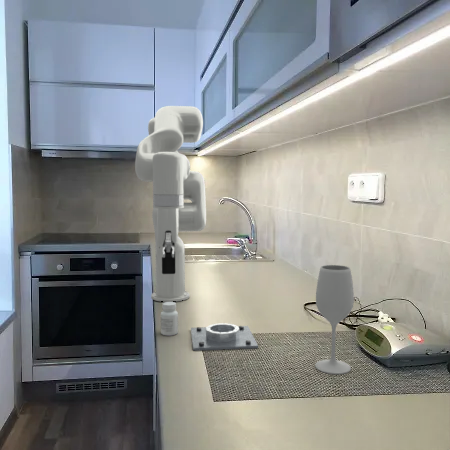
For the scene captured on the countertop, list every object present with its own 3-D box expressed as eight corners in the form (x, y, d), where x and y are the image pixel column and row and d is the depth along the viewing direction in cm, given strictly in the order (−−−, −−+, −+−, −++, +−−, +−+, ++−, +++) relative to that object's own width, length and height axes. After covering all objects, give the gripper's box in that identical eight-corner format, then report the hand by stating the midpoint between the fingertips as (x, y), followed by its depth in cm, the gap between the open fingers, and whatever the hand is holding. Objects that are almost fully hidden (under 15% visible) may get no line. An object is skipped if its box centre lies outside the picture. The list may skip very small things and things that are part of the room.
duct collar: (205, 331, 117) (205, 323, 117) (236, 330, 118) (236, 322, 118) (207, 342, 109) (207, 334, 109) (241, 341, 110) (241, 332, 110)
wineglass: (345, 360, 100) (348, 264, 98) (356, 374, 93) (359, 271, 91) (310, 360, 100) (312, 264, 98) (319, 374, 92) (321, 271, 91)
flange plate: (190, 329, 121) (190, 325, 120) (247, 328, 122) (247, 324, 122) (193, 350, 106) (193, 346, 106) (258, 348, 107) (258, 343, 107)
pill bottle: (169, 329, 121) (169, 300, 120) (181, 332, 118) (181, 303, 118) (157, 333, 118) (156, 303, 117) (169, 337, 115) (168, 306, 114)
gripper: (154, 200, 123) (155, 264, 125) (151, 203, 106) (152, 277, 108) (182, 200, 124) (183, 263, 126) (184, 203, 107) (184, 276, 109)
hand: (168, 270), depth 117 cm, fingers open, 9 cm apart
